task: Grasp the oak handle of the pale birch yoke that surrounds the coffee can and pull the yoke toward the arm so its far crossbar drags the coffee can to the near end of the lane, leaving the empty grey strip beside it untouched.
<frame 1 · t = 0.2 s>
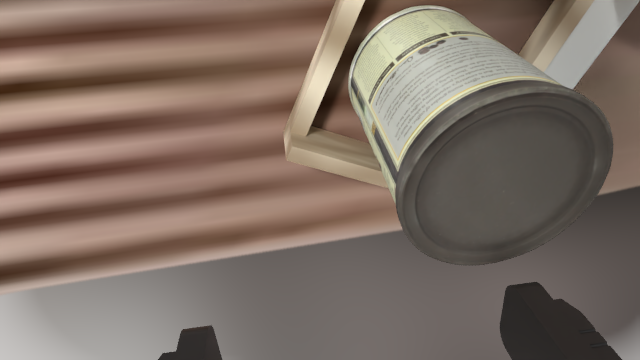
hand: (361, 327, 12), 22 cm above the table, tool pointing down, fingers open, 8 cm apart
yoke: (465, 38, 27), point 4 cm above the table, slide at 0.0 cm
empty strip: (565, 88, 31), point 3 cm above the table, slide at 0.0 cm
coffee can: (415, 75, 32), resting in yoke
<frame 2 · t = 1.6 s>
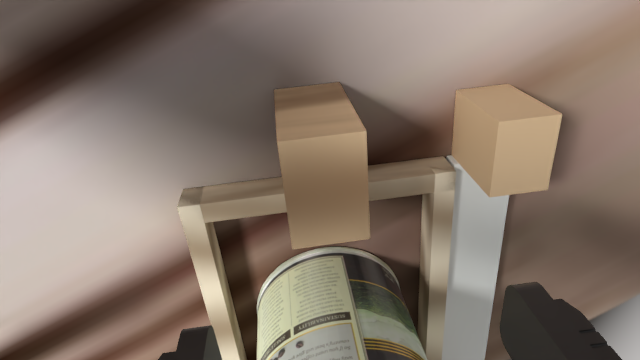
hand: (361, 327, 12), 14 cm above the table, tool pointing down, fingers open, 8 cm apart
yoke: (331, 295, 25), point 4 cm above the table, slide at 0.0 cm
empty strip: (482, 269, 27), point 3 cm above the table, slide at 0.0 cm
coffee can: (328, 301, 30), resting in yoke
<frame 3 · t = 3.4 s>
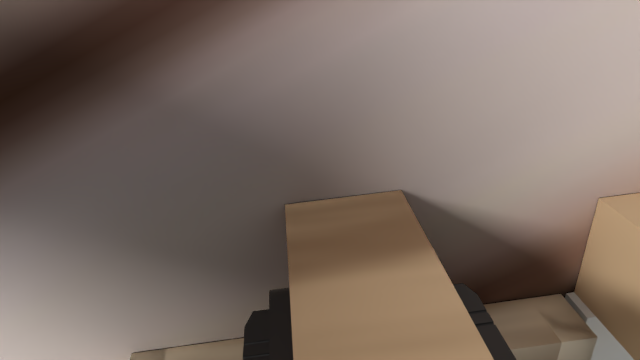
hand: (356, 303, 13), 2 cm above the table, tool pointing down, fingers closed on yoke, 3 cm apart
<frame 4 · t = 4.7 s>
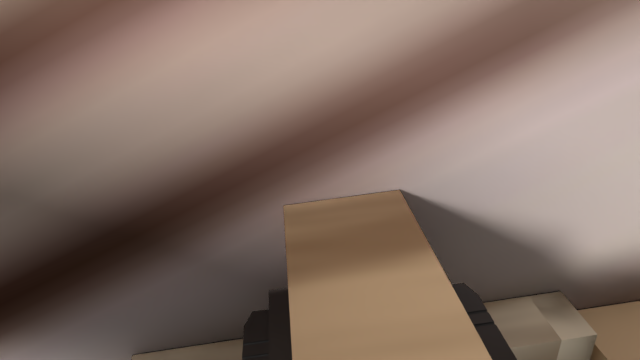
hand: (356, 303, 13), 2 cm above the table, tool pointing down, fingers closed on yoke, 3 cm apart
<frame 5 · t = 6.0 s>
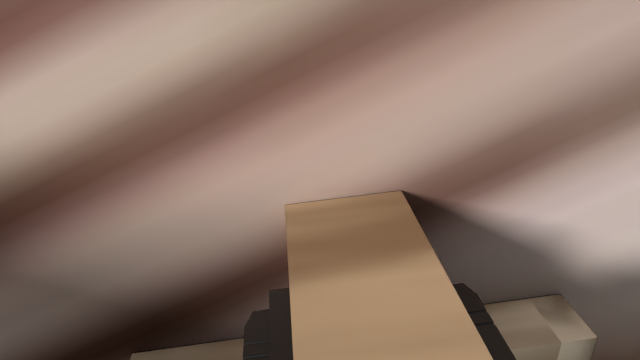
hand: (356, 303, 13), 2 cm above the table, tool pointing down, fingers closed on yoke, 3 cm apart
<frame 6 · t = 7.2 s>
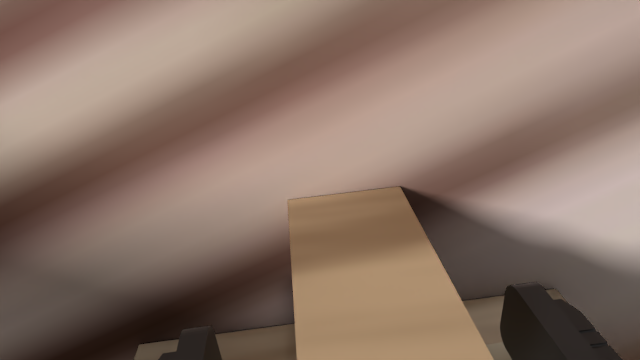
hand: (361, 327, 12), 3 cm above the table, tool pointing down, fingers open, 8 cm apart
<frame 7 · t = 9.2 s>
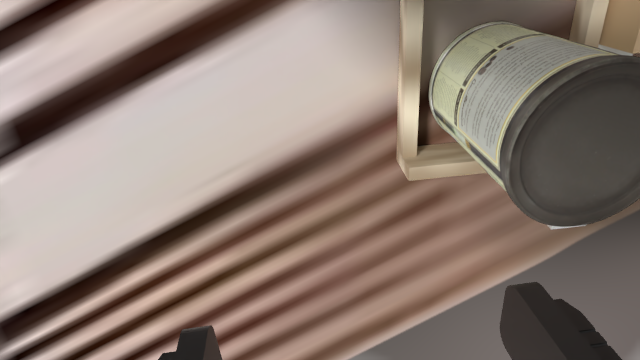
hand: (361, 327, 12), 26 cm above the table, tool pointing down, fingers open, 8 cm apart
yoke: (517, 24, 31), point 4 cm above the table, slide at 8.8 cm
empty strip: (604, 129, 37), point 3 cm above the table, slide at 0.0 cm
coffee can: (485, 83, 37), resting in yoke
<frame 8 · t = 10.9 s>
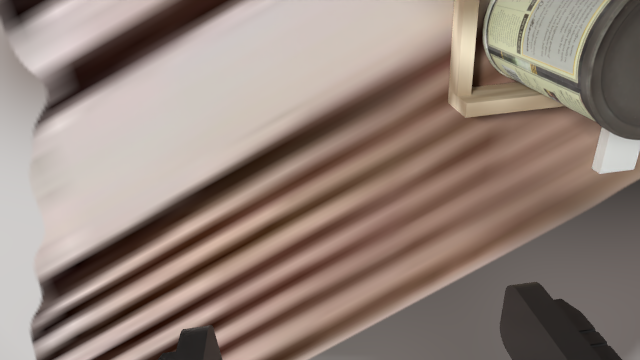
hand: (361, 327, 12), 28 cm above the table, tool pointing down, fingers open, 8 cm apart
coffee can: (538, 20, 37), resting in yoke
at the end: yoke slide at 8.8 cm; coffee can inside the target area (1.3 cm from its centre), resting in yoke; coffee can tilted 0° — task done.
